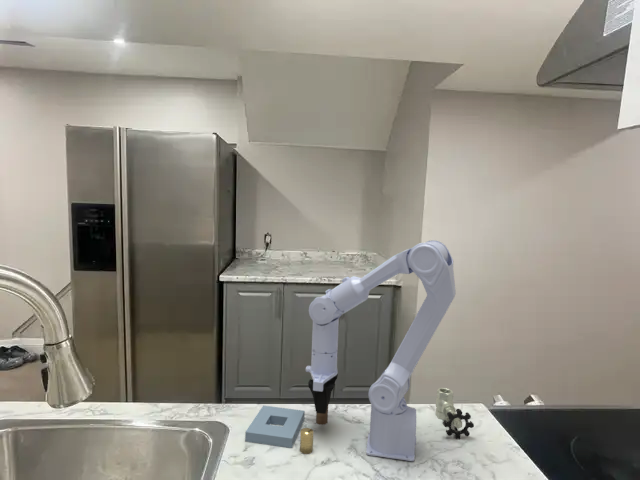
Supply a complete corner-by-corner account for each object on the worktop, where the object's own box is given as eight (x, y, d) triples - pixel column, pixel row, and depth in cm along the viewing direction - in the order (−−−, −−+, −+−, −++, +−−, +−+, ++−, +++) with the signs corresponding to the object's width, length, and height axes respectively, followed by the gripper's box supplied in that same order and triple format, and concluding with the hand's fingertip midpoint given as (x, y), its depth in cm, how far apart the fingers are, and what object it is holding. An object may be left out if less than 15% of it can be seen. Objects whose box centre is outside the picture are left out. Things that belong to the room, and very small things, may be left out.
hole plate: (304, 419, 96) (304, 410, 96) (291, 447, 84) (292, 438, 84) (263, 413, 98) (263, 405, 97) (245, 441, 86) (245, 431, 86)
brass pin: (313, 447, 85) (314, 428, 84) (311, 454, 82) (312, 435, 82) (301, 445, 85) (302, 427, 85) (298, 453, 83) (299, 433, 82)
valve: (427, 412, 102) (443, 439, 90) (429, 386, 101) (445, 410, 89) (454, 413, 102) (473, 440, 90) (455, 387, 102) (475, 411, 90)
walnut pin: (328, 419, 93) (329, 385, 92) (326, 425, 91) (328, 390, 90) (317, 418, 94) (318, 384, 93) (314, 424, 91) (316, 388, 90)
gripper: (313, 337, 99) (311, 393, 100) (299, 359, 84) (297, 423, 85) (342, 340, 97) (340, 396, 98) (333, 362, 83) (331, 427, 84)
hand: (322, 409), depth 92 cm, fingers closed on walnut pin, 3 cm apart
